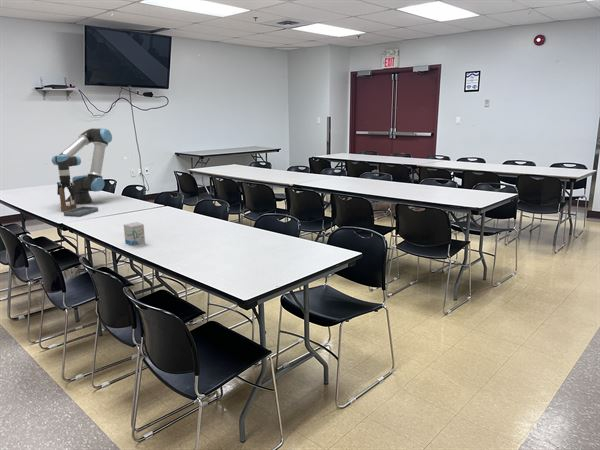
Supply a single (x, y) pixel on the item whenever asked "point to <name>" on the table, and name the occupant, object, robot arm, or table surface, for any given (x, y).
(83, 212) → the tray
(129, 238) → the ink box
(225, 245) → the table surface
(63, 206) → the brown tapered wooden part
